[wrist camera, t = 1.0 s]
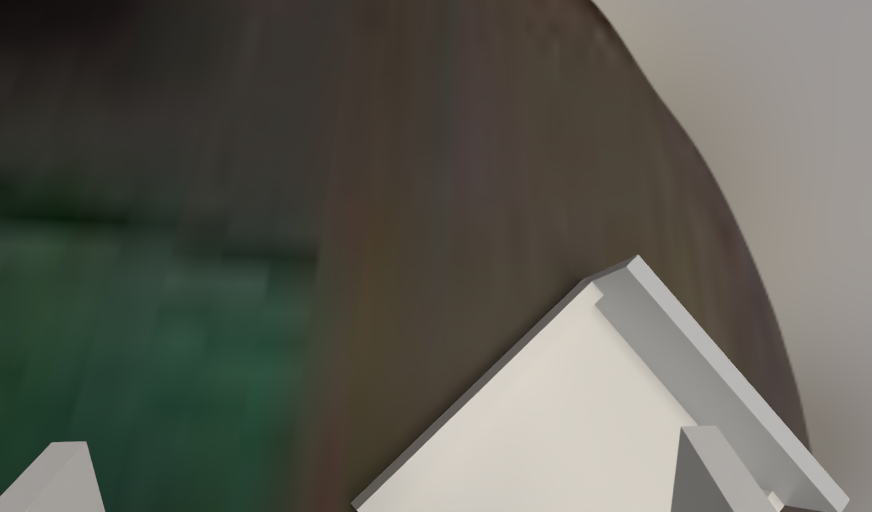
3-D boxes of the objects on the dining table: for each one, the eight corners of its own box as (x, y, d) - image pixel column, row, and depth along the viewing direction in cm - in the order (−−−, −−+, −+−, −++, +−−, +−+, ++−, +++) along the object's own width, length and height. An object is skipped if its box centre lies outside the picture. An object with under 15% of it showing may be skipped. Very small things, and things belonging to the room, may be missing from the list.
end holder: (350, 503, 30) (367, 522, 25) (582, 279, 37) (638, 254, 31) (562, 757, 30) (629, 836, 24) (760, 486, 36) (849, 499, 30)
